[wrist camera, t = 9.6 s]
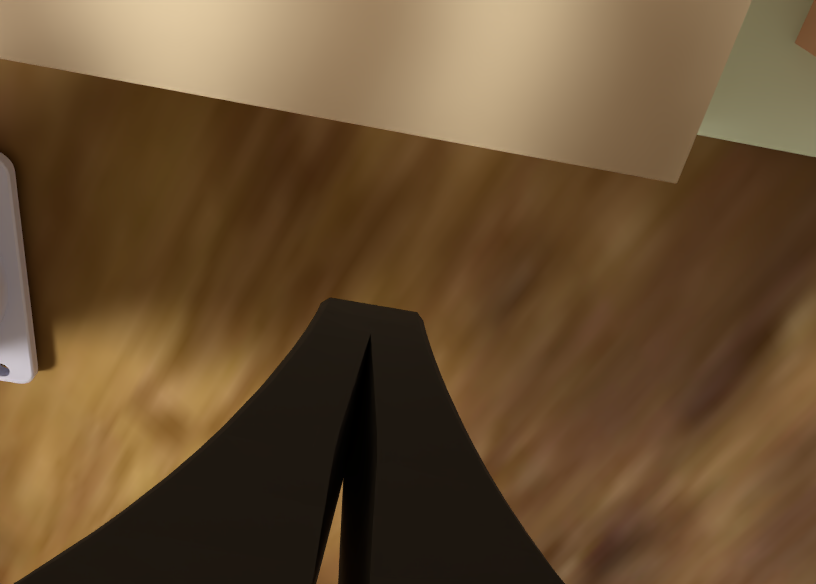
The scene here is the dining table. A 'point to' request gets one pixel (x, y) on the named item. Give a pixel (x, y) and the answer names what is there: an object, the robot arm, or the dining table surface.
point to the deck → (420, 65)
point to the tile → (808, 32)
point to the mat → (767, 83)
